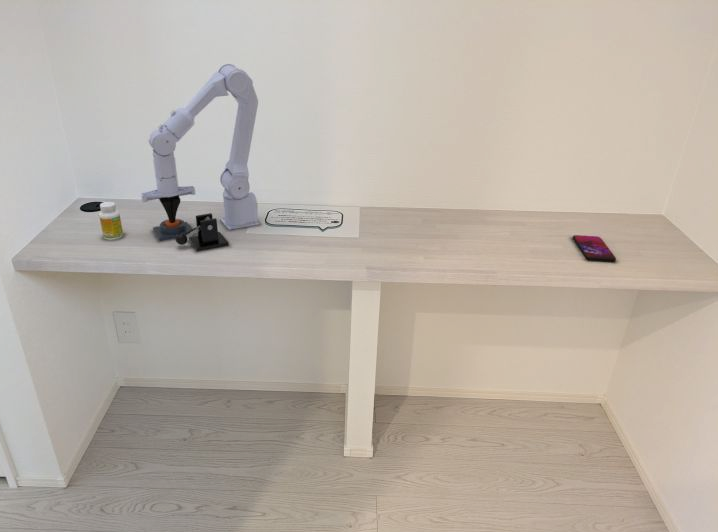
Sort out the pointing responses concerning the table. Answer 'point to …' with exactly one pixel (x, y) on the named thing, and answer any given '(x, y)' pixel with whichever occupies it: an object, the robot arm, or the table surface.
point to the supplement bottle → (110, 221)
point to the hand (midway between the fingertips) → (172, 221)
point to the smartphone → (594, 248)
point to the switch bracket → (207, 234)
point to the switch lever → (188, 234)
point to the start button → (172, 223)
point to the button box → (171, 230)
